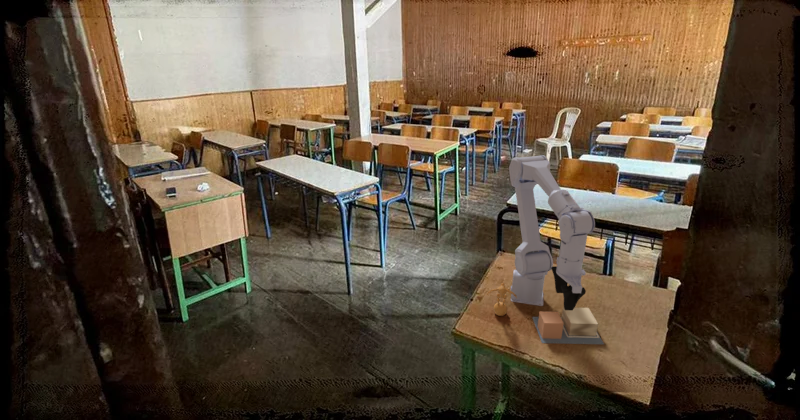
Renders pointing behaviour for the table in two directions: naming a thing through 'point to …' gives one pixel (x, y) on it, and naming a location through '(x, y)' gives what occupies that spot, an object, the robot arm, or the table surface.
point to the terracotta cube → (550, 325)
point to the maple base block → (579, 322)
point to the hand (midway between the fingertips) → (564, 300)
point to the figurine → (499, 307)
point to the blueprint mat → (569, 337)
